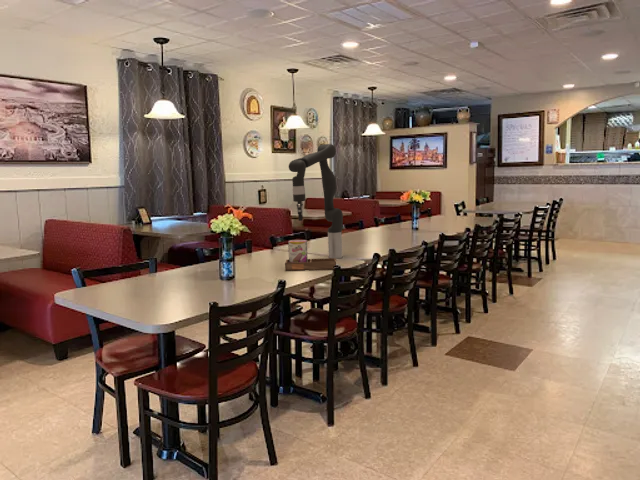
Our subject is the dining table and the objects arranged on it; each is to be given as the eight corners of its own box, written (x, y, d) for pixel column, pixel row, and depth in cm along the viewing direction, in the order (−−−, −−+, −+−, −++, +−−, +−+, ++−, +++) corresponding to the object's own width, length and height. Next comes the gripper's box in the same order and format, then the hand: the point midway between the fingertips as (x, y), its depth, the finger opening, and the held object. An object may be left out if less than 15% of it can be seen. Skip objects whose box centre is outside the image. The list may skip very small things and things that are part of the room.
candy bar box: (288, 268, 302) (287, 241, 300) (290, 266, 307) (288, 240, 305) (307, 268, 301) (306, 241, 299) (308, 266, 306) (307, 239, 304)
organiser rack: (286, 267, 310) (286, 259, 309) (336, 266, 309) (335, 258, 308) (285, 271, 299) (284, 263, 298) (336, 269, 298) (336, 261, 297)
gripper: (304, 194, 298) (306, 221, 301) (305, 192, 312) (307, 217, 315) (292, 194, 299) (294, 221, 301) (293, 192, 313) (295, 218, 315)
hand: (300, 219), depth 308 cm, fingers open, 8 cm apart
